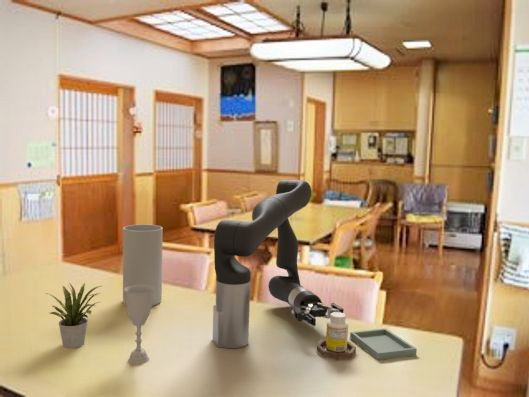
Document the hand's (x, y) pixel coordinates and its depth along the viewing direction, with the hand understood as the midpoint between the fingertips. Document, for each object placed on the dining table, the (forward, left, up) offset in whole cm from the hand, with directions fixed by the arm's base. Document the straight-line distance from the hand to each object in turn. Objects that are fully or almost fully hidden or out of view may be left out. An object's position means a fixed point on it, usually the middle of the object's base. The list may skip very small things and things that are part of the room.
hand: (328, 321), depth 134 cm
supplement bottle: (0, -5, -7) cm, 8 cm away
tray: (+14, -5, -7) cm, 16 cm away
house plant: (-64, +16, -7) cm, 66 cm away
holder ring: (0, -5, -7) cm, 8 cm away
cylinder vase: (-45, +47, -7) cm, 65 cm away
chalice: (-50, +3, -7) cm, 51 cm away
